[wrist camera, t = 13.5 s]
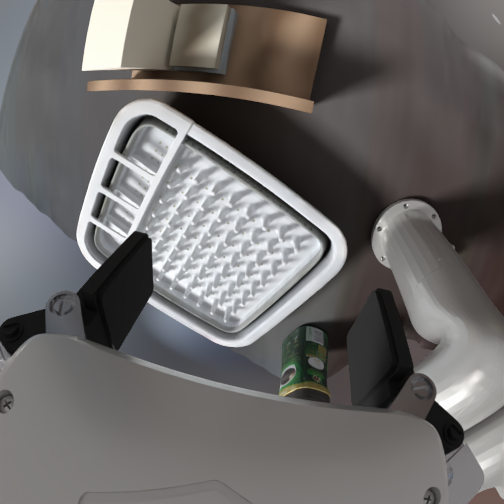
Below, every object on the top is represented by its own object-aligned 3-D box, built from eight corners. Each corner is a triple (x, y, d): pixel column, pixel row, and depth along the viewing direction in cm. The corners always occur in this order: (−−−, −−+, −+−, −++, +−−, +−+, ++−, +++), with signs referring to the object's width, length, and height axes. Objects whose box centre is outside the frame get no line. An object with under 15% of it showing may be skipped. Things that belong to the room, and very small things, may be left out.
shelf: (325, 23, 26) (337, -5, 16) (306, 107, 33) (311, 113, 23) (150, 9, 27) (103, -8, 17) (137, 86, 34) (87, 91, 24)
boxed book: (190, 12, 26) (138, -17, 14) (178, 71, 31) (120, 67, 19) (157, 13, 26) (96, -8, 14) (146, 70, 31) (81, 70, 19)
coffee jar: (306, 357, 59) (303, 431, 44) (277, 344, 58) (266, 421, 42) (335, 333, 54) (338, 414, 38) (303, 318, 53) (300, 403, 37)
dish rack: (243, 329, 57) (235, 359, 51) (93, 230, 50) (70, 251, 43) (356, 223, 41) (366, 251, 35) (157, 82, 34) (129, 83, 27)
